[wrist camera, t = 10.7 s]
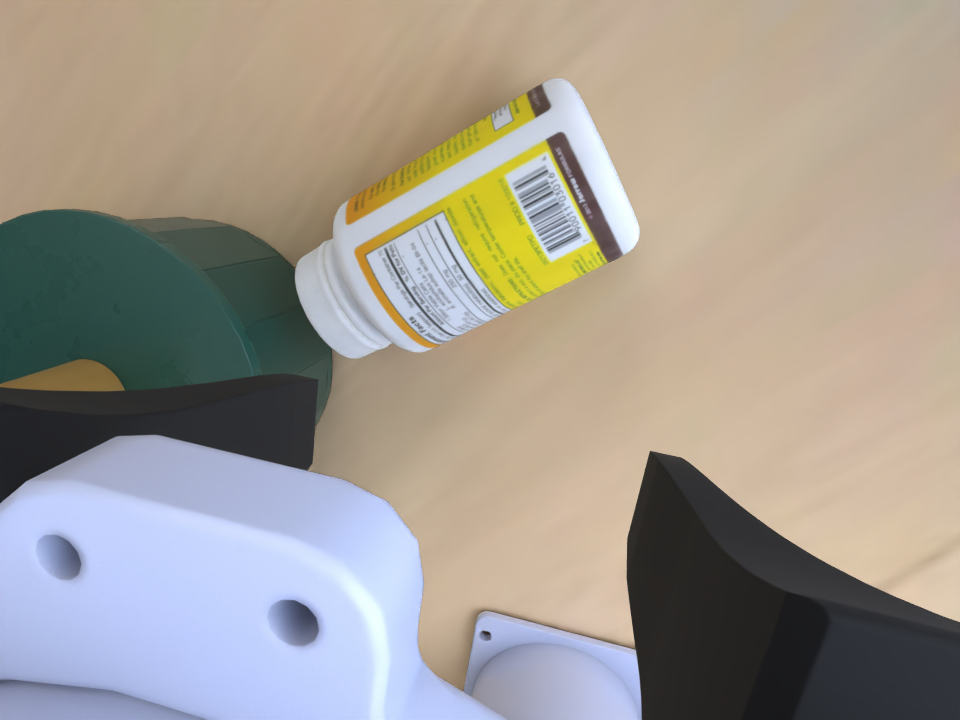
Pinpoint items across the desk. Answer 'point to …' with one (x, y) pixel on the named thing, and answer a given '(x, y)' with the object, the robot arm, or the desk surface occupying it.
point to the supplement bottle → (470, 229)
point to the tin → (255, 295)
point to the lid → (110, 309)
